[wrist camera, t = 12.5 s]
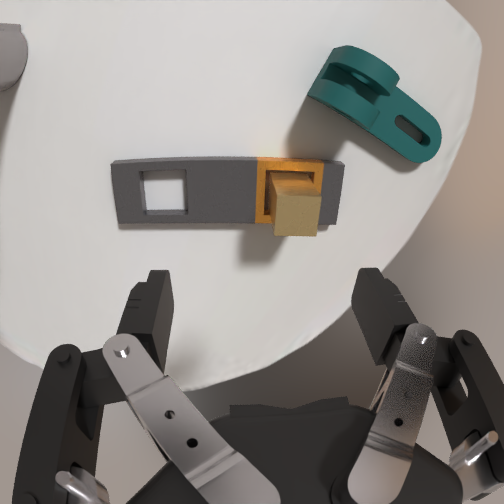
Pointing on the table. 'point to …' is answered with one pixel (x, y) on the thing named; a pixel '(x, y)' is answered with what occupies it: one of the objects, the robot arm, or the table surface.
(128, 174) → the rail
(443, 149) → the table surface
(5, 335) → the table surface
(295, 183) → the block
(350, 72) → the bracket
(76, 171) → the table surface
